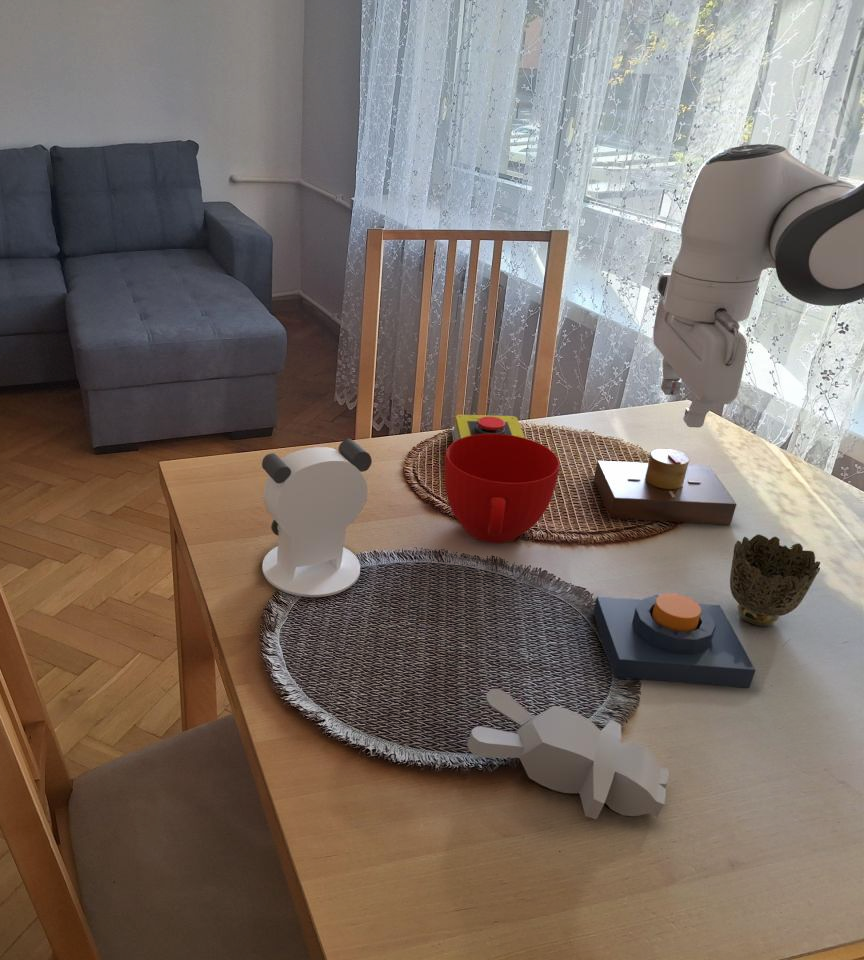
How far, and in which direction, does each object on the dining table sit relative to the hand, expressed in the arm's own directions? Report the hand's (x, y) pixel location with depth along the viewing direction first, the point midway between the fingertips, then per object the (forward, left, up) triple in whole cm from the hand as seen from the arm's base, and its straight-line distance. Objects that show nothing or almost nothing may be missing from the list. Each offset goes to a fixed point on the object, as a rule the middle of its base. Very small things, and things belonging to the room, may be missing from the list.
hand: (680, 408), depth 104 cm
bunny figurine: (+20, +48, -13) cm, 54 cm away
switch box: (+7, +30, -13) cm, 33 cm away
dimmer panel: (0, 0, -13) cm, 13 cm away
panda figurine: (+43, +20, -13) cm, 49 cm away
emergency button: (+20, -12, -13) cm, 27 cm away
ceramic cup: (+22, +11, -13) cm, 28 cm away
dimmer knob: (0, 0, -10) cm, 10 cm away
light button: (+7, +30, -10) cm, 32 cm away
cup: (-4, +24, -13) cm, 28 cm away
